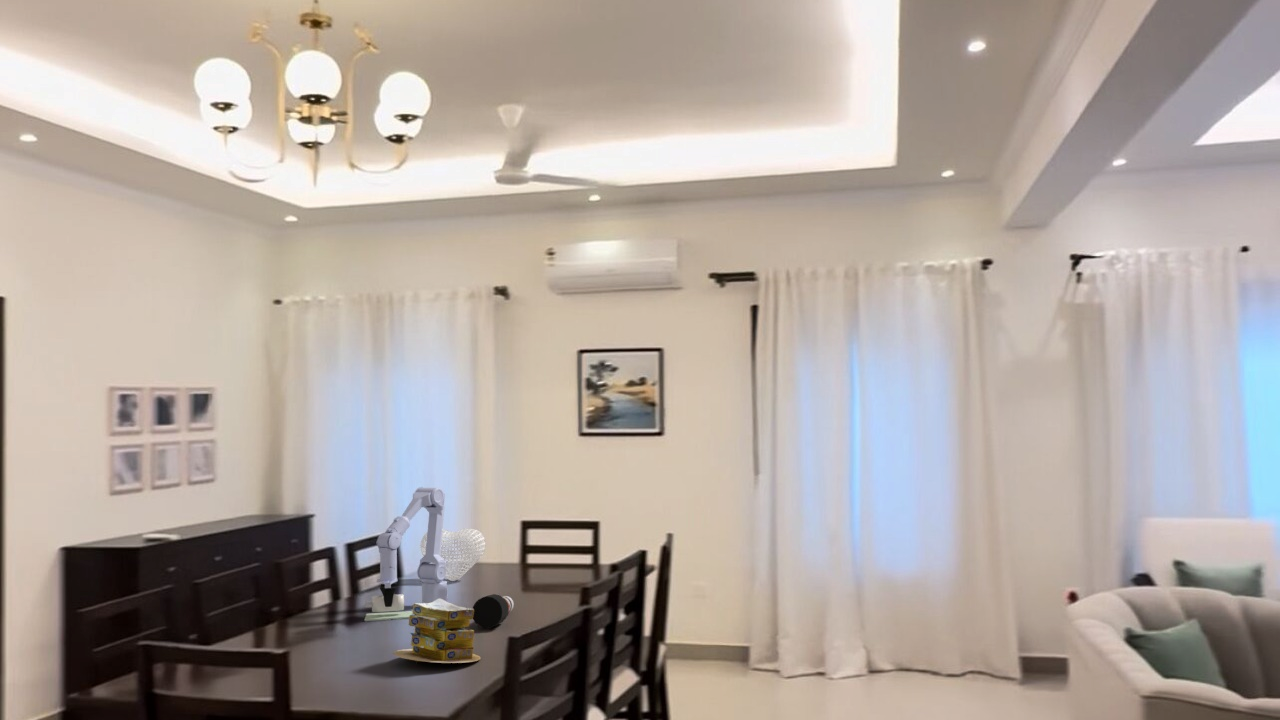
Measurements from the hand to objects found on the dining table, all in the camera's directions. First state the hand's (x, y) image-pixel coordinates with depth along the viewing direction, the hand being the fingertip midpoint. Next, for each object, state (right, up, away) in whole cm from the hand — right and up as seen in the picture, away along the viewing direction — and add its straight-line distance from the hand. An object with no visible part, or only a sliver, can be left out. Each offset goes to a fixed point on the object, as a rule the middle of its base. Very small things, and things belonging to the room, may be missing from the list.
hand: (388, 605), depth 343 cm
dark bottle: (+40, -3, -8) cm, 41 cm away
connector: (-1, -2, 0) cm, 2 cm away
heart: (+9, -8, +72) cm, 73 cm away
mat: (0, -4, 0) cm, 4 cm away
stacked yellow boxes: (+31, 0, -64) cm, 71 cm away
